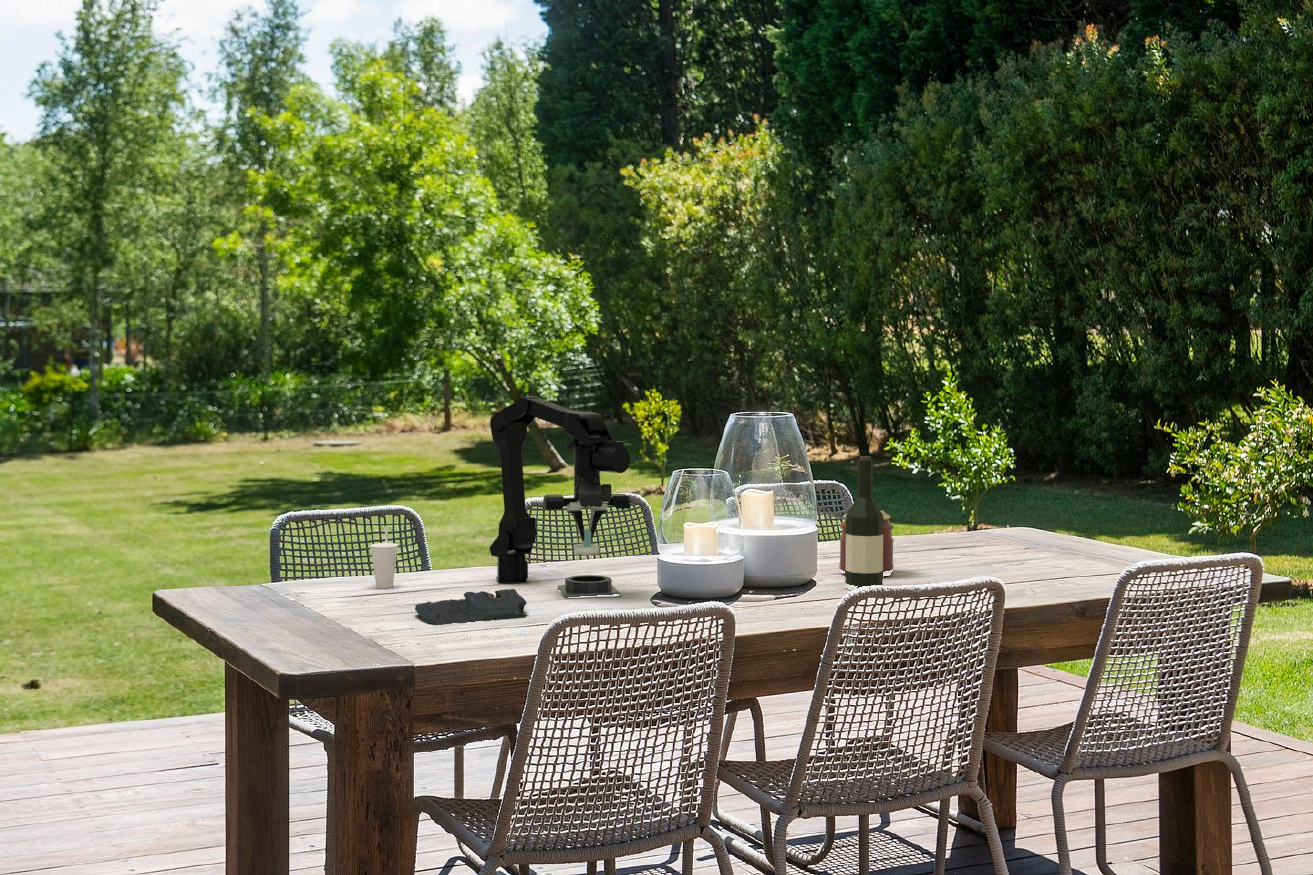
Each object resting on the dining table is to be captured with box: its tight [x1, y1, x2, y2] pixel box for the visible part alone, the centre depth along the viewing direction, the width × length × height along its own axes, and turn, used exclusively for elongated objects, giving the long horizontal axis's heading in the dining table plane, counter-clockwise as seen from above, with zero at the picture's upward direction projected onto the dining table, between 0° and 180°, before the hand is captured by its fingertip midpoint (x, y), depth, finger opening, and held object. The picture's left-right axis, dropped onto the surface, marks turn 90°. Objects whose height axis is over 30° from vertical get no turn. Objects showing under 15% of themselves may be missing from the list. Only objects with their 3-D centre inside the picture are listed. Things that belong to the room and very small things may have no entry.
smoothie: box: [369, 525, 399, 590], centre depth 301 cm, size 6×6×14 cm
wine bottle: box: [844, 455, 884, 588], centre depth 300 cm, size 8×8×30 cm
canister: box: [838, 509, 895, 572], centre depth 320 cm, size 13×13×18 cm
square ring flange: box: [557, 574, 621, 599], centre depth 294 cm, size 12×12×3 cm
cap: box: [573, 528, 600, 556], centre depth 293 cm, size 6×6×5 cm
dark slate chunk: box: [414, 588, 530, 626], centre depth 269 cm, size 15×22×5 cm
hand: (586, 540), depth 293 cm, fingers closed on cap
